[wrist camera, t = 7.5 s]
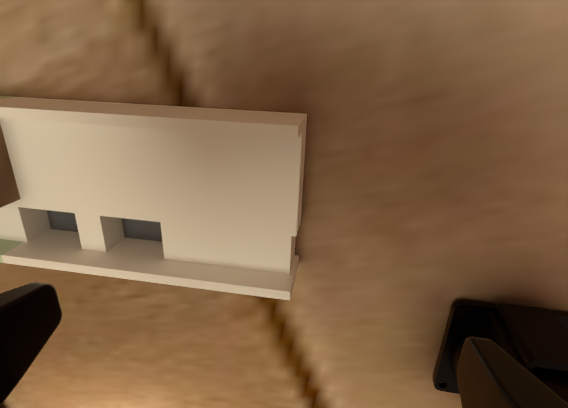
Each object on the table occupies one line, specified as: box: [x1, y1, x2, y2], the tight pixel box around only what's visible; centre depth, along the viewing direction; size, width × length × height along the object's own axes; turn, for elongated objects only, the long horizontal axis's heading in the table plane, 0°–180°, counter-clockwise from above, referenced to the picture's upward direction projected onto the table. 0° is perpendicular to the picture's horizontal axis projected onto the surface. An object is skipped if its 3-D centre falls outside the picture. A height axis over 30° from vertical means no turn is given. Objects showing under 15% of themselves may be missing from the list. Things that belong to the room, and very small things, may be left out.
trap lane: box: [0, 96, 307, 300], centre depth 19 cm, size 8×22×4 cm, turn 88°
